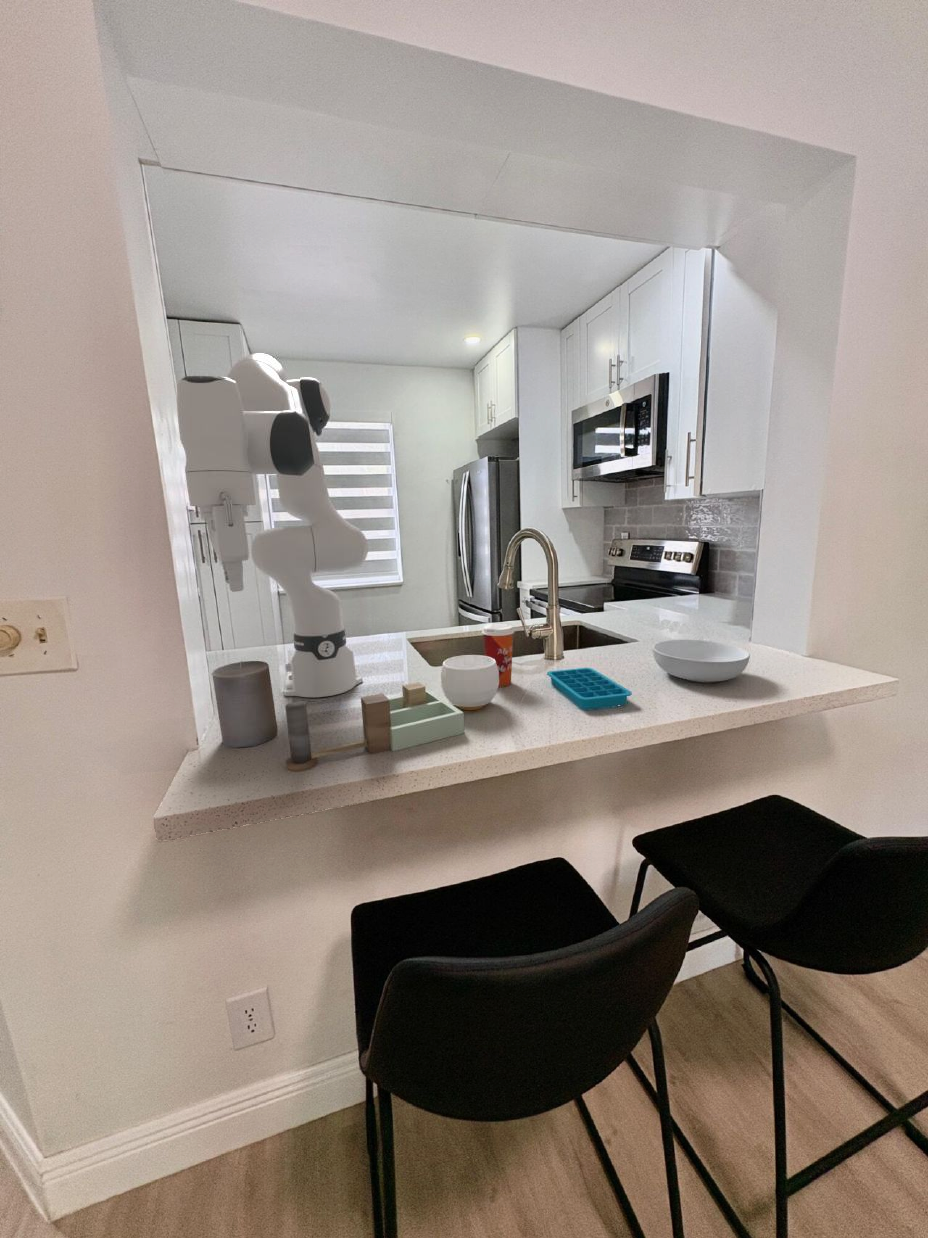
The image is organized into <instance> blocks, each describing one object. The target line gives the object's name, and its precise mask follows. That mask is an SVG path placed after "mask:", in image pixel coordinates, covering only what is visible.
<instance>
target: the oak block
mask: <svg viewBox="0 0 928 1238" xmlns="http://www.w3.org/2000/svg"><path fill="white" fill-rule="evenodd" d="M401 688H402V689H401V690H402V691H401V692H402V695H403V707H404V708H408V707H413V706H417V705H422V704H426V690H427V689H426V686H425V685H424V684H422V683H420V682H419V681H417V682H411V683H406V684H402V685H401Z"/></svg>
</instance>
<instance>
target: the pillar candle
mask: <svg viewBox="0 0 928 1238" xmlns="http://www.w3.org/2000/svg"><path fill="white" fill-rule="evenodd" d="M269 665H270V664H268V663H267V662H266V661H262V660H260V661H259V660H250V661H249V660H245V661H242V660H241V661H239V662H234V663H229V664H225V665H223V666H220V667H218V668H215V669H214V670H213V671H212V673H211V676H212V680H213V687H214V692H215V693H214V694H215V699H216V701H215V702H216V706H217V714H218V715H217V716H218V720H219V727H220V734H221V740H222V744H223V746H225V747H228V748H233V749H237V748H243V747H244V748H248V747H255V746H257V745H261V744H264V743H267V742H268V741H270V740H272V739H273V738H274V737H276V735H277V734H278V723H277V716H276V709H275V700H274V693H273V686H272V680H271V679H272V678H271V673H270V666H269Z"/></svg>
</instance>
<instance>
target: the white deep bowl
mask: <svg viewBox="0 0 928 1238" xmlns="http://www.w3.org/2000/svg"><path fill="white" fill-rule="evenodd" d="M440 679H441V682H440V683H441V685H440V686H441V689H442V691H443V694H444V696H445V698H446V699H447V700H448V702H449V703H450V704H451V705H453V706H457V707H458V709H459V710H465V711H474V710H480V709H482V708H483V707H484V706H486V705H488V704H490V702H491V701H492V700H493V699H494V698H495V696H496V695H497V692H498V689H499V687H498V686H499V671H498V668H497V664H496V661H495V659H493V658H491V657H487V656H485V655H482V654H481V655H480V654H465V655H464V654H463V655H458V656H453V657H449V658H447V659H445V660H443V662H442V666H441V671H440Z"/></svg>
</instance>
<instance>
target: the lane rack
mask: <svg viewBox="0 0 928 1238" xmlns="http://www.w3.org/2000/svg"><path fill="white" fill-rule="evenodd" d="M425 690H426V704H422V705H417V706H413V707H408V708H404V707H403V694H401V695H397V696H392V697H387V698H388V699H389V703H390V717H391V728H390V738H391V749H390V750H391V751H392V752H397V751H400V750H404V749H407V748H408V749H409V748H412V747H415V746H419V745H423V744H426V743H430V742H434V741H439V740H442V739H447V738H450V737H454V736H457V735H462V734H465V719H464V718H465V717H464V716H465V715H464V712H463V711H462V710H461V709H460V708H457V707H456V706H455V705H454V704H452V703H451V702H449V701H447V700H445V699H443V698H442V697H440V696H439V695H437V694H436V693H435V692H433V691H432V690H430V689H425Z"/></svg>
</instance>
